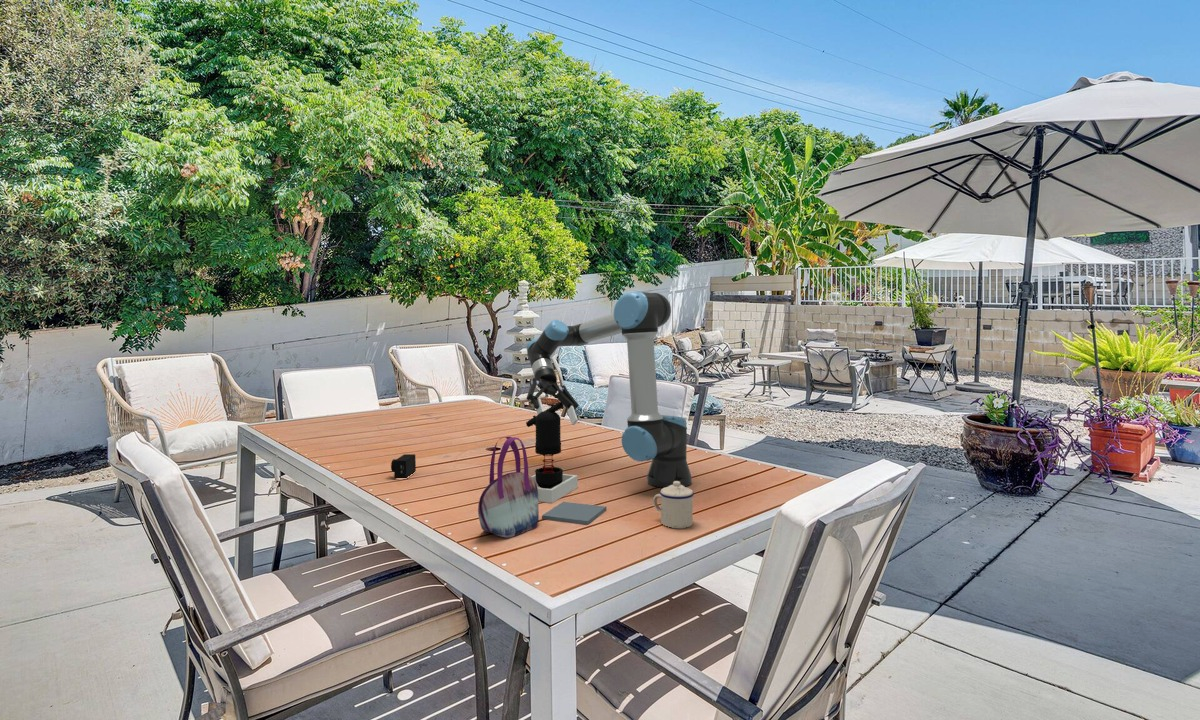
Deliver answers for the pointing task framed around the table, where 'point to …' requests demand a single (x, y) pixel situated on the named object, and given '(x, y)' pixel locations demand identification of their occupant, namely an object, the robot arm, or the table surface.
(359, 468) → the table surface
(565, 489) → the white open rectangular box
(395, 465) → the digital camera
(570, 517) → the slate mat
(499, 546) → the table surface
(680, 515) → the teacup with lid
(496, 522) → the handbag
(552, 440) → the filter
